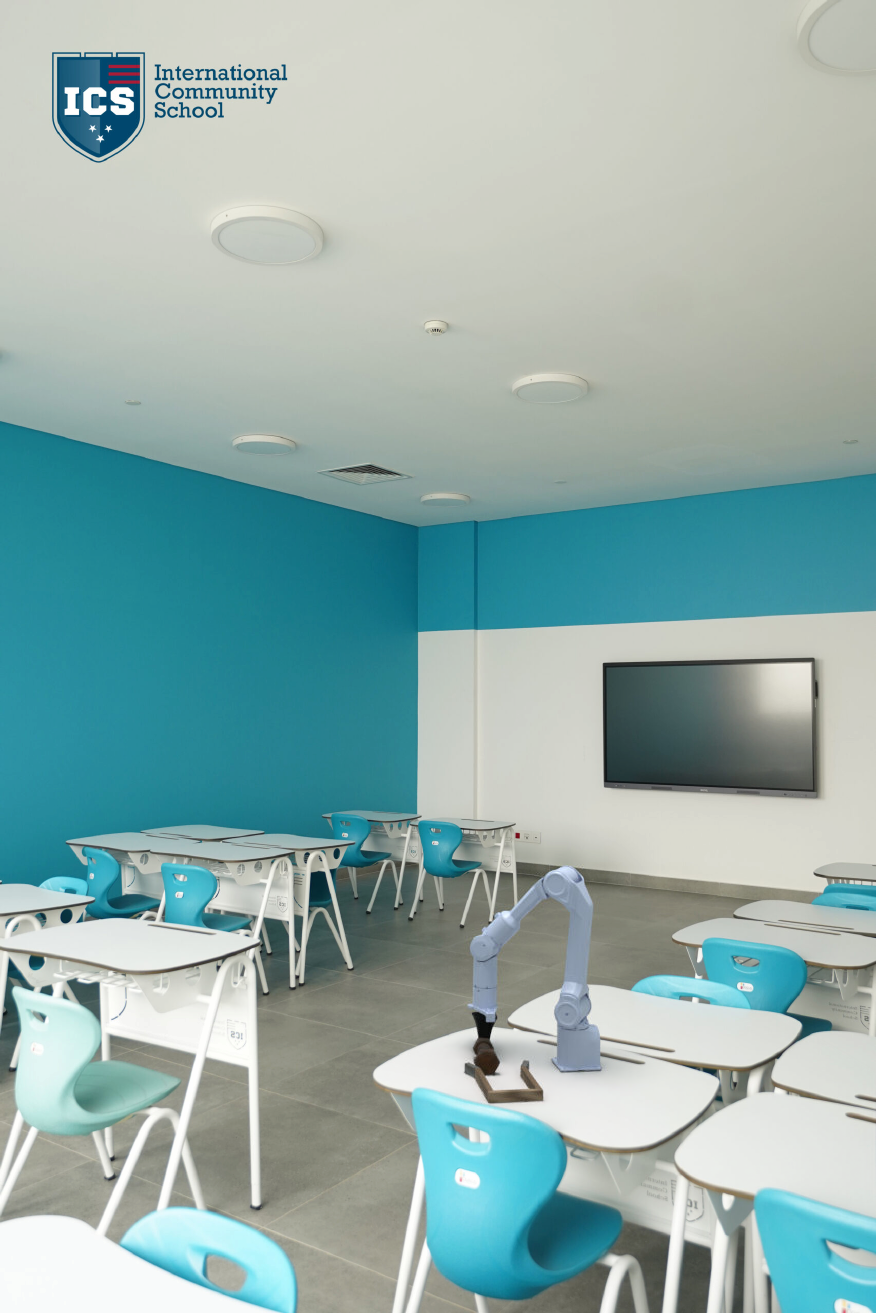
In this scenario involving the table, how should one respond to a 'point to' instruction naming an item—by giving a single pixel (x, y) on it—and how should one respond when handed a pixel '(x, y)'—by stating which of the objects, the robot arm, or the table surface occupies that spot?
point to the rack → (507, 1095)
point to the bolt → (485, 1056)
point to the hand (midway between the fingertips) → (484, 1044)
